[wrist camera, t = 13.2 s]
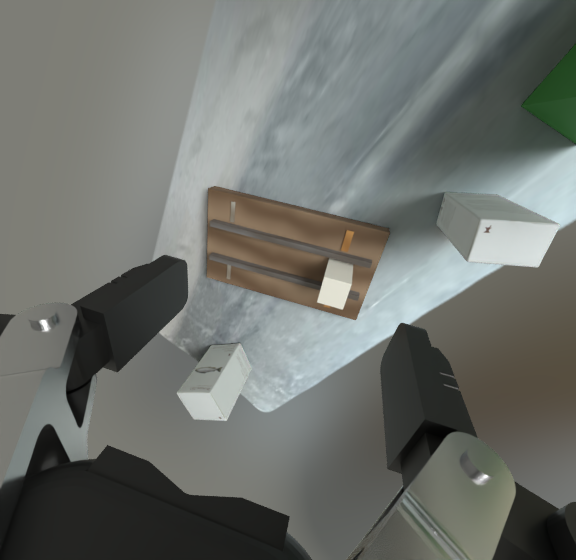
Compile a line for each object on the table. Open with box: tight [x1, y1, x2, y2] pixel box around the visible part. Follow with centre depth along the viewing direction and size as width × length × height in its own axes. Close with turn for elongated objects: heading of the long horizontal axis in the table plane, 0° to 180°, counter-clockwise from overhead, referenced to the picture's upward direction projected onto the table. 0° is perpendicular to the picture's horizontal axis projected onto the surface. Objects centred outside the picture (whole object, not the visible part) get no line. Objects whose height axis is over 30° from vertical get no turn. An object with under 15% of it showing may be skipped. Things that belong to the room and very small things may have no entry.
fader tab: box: [317, 258, 353, 310], centre depth 37 cm, size 4×4×6 cm
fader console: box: [207, 186, 390, 320], centre depth 41 cm, size 15×26×3 cm, turn 80°
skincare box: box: [436, 192, 560, 267], centre depth 28 cm, size 6×4×12 cm
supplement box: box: [177, 343, 252, 421], centre depth 52 cm, size 7×7×13 cm
